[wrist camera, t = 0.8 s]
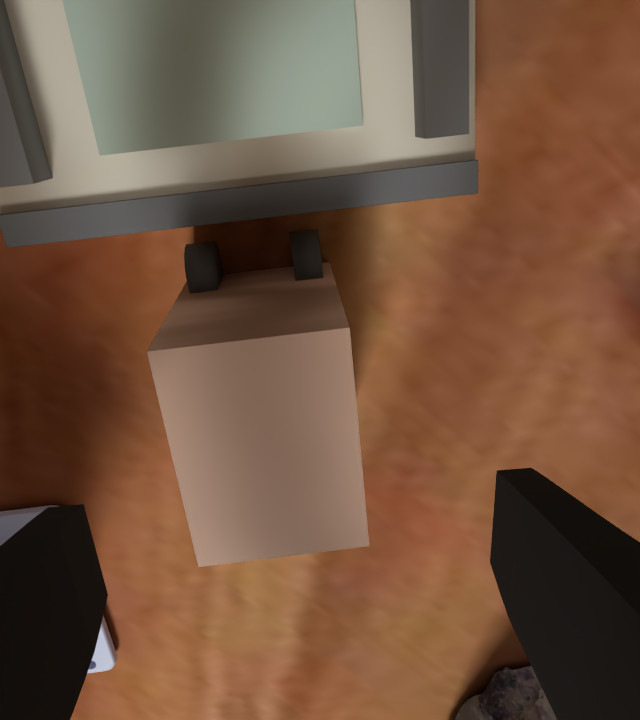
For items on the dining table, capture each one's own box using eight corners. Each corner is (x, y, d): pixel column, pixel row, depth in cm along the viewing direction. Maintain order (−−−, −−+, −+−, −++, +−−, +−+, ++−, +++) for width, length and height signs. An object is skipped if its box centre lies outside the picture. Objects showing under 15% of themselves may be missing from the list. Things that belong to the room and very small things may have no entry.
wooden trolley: (227, 472, 21) (206, 601, 15) (181, 239, 18) (134, 298, 12) (348, 458, 21) (372, 581, 15) (325, 223, 18) (345, 273, 12)
